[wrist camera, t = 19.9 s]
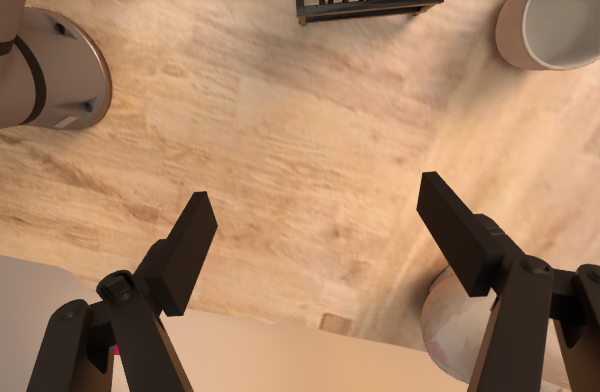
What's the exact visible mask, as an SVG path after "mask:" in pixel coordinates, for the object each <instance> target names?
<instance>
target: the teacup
mask: <svg viewBox="0 0 600 392" xmlns="http://www.w3.org/2000/svg"><path fill="white" fill-rule="evenodd" d="M495 37H496V44H497V48H498V50H499V52H500V54H501V56H502V57H503V58H504V59H505V60H506V61H507V62H508V63H510V64H511V65H513V66H515V67H518V68H521V69H526V70H559V71H562V70H572V69H576V68H580V67H583V66H586V65H589V64H591V63H593V62H595V61H597V60H598V59H600V0H507V1H506V2H505V4H504V6H503V8H502V10H501V12H500V14H499V17H498V20H497V24H496V32H495Z"/></svg>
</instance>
